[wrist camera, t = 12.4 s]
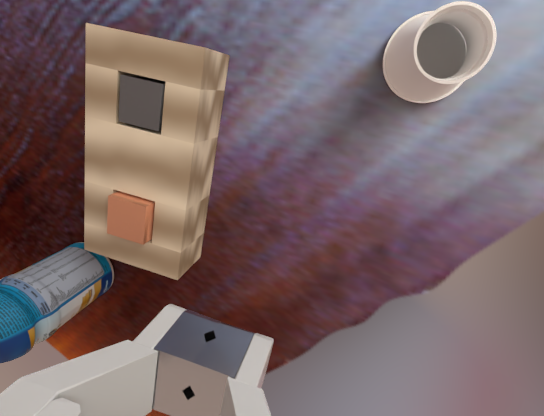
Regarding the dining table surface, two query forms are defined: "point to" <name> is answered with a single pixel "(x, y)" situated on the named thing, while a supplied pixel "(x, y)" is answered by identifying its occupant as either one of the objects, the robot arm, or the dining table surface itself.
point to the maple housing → (151, 145)
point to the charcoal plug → (141, 101)
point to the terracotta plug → (130, 217)
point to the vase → (438, 51)
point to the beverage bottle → (49, 297)
